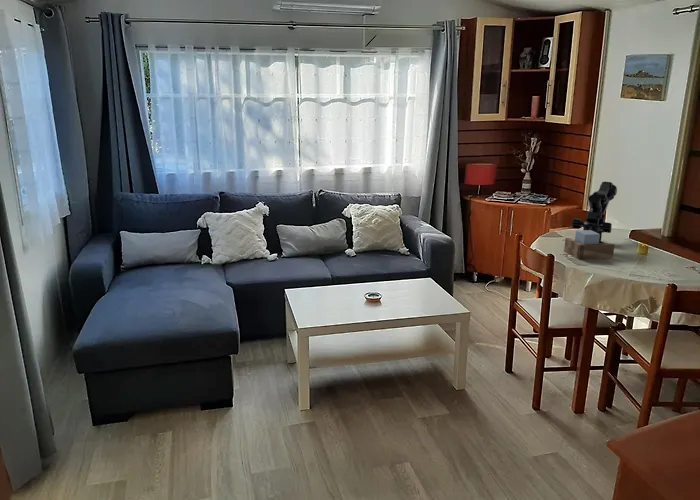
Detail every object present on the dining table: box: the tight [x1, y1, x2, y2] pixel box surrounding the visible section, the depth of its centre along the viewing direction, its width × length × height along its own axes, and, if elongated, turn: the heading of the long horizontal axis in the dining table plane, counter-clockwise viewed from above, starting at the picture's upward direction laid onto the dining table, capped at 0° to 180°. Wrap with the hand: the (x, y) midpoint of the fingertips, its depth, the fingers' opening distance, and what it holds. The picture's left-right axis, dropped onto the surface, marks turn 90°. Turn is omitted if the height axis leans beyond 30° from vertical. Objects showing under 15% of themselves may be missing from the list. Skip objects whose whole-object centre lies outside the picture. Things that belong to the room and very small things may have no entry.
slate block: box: [574, 229, 600, 244], centre depth 278 cm, size 8×8×12 cm
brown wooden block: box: [563, 237, 615, 260], centre depth 280 cm, size 14×18×7 cm
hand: (588, 239), depth 285 cm, fingers closed
